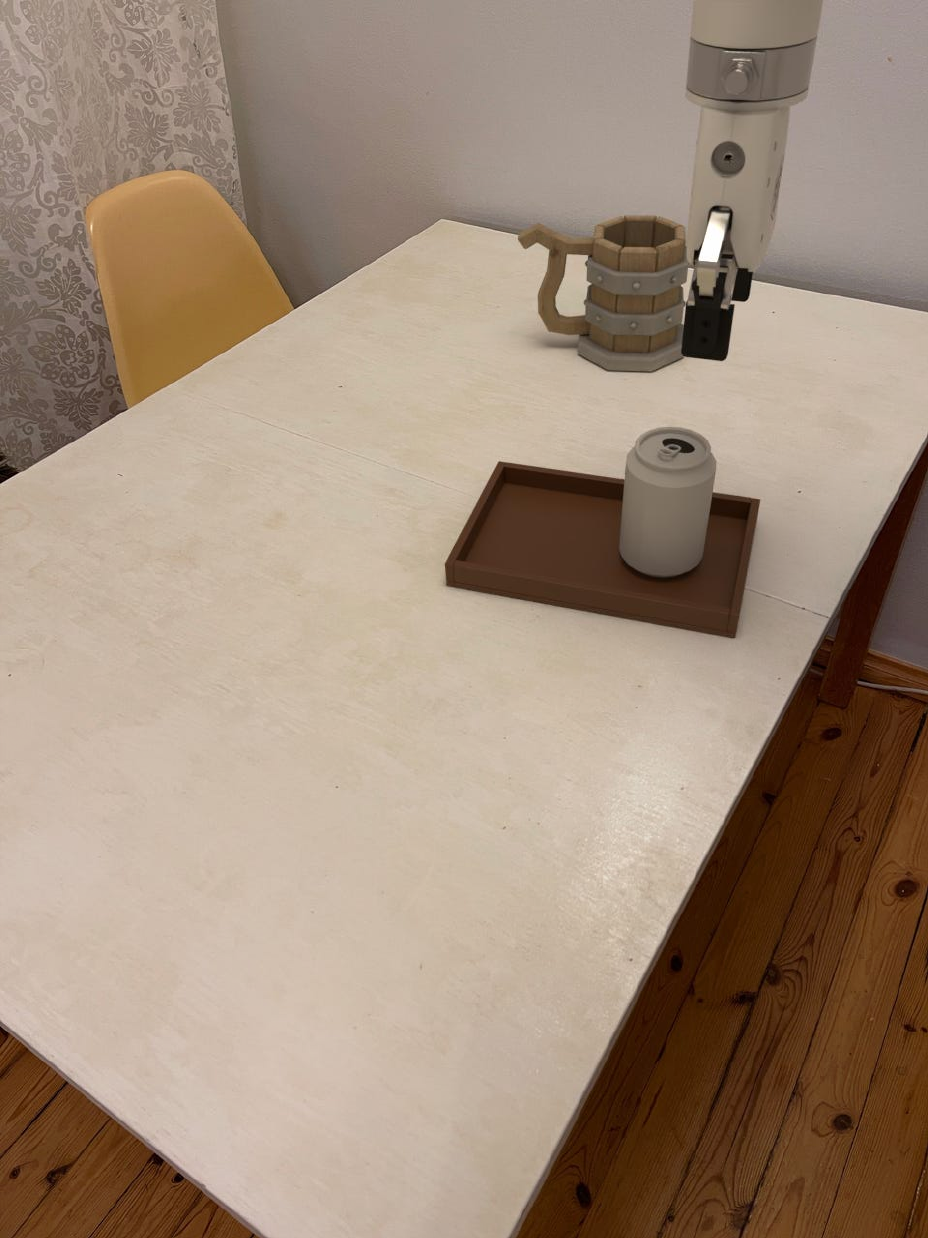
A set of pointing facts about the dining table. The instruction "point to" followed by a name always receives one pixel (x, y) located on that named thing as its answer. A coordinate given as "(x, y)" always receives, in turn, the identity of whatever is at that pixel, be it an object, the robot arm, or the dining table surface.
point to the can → (666, 501)
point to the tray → (596, 551)
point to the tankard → (620, 290)
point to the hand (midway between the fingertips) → (716, 326)
